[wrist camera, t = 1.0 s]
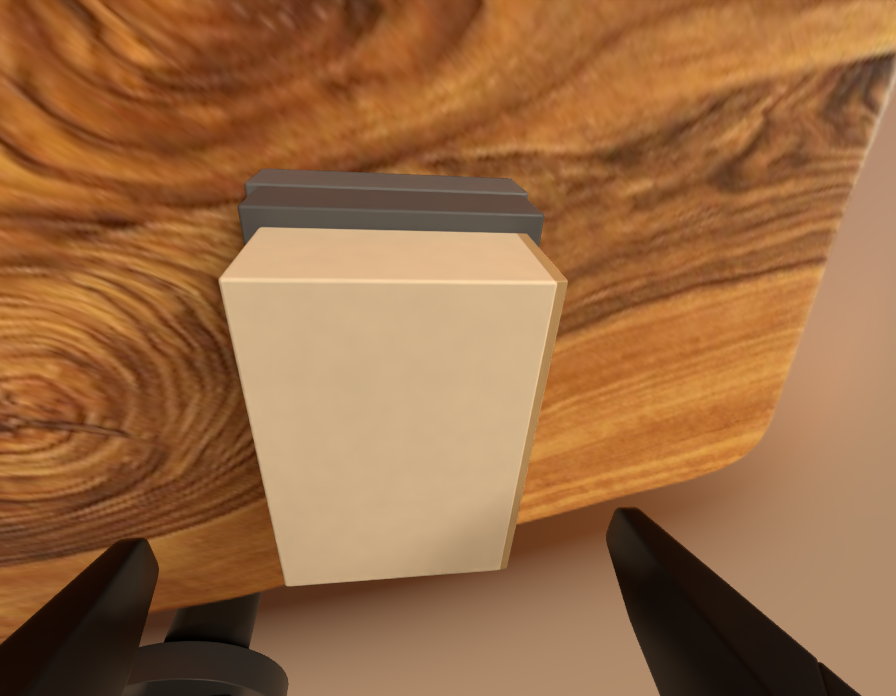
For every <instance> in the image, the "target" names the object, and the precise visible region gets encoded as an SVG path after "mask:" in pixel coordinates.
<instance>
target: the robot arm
mask: <svg viewBox="0 0 896 696" xmlns="http://www.w3.org/2000/svg"><path fill="white" fill-rule="evenodd" d="M606 541H607V546H608V549H609V553H610V556H611V559H612V563H613V566H614V569H615V572H616V576H617V579H618V583H619V586H620V589H621V593H622V596H623V600H624V602H625V606H626V610H627V613H628V616H629V619H630V622H631V624H632V627H633V629H634V632H635V634H636V637H637V640H638V642H639V645H640V647H641V649H642V652H643V654H644V657H645V659H646V662H647V664H648V667H649V669H650V672H651V674H652V677H653V679H654V682H655V684H656V686H657V689H658V691H659V694H660V696H861V695H860V694H859V693H857V692H856V691H855V690H854V689H853V688H851V687H850V686H849V685H848V684H846V683H845V682H844V681H843V680H842V679H841V678H839V677H838V676H837V675H836V674H835V673H833V672H832V671H831V670H830V669H829V668H828V667H826V666H825V665H824V664H823V663H821V662H818V661H817V659H816V658H815V657H814V656H813V655H812V654H811V653H809V652H808V651H807V650H806V649H805V648H804V647H802V646H801V645H800V644H799V643H798V642H796V641H795V640H794V639H793V638H792V637H791V636H789V635H788V634H787V633H786V632H785V631H783V630H782V629H781V628H780V627H779V626H778V625H776V624H775V623H774V622H773V621H772V620H770V619H769V618H768V617H767V616H766V615H764V614H763V613H762V612H761V611H760V610H758V609H757V608H756V607H755V606H754V605H752V604H751V603H750V602H749V601H748V600H747V599H745V598H744V597H743V596H742V595H741V594H740V593H738V592H737V591H736V590H735V589H733V588H732V587H731V586H730V585H729V584H728V583H727V582H725V581H724V580H723V579H722V578H720V577H719V576H718V575H717V574H716V573H715V572H713V571H712V570H711V569H710V568H709V567H708V566H706V565H705V564H704V563H703V562H701V561H700V560H699V559H698V558H697V557H696V556H694V555H693V554H692V553H691V552H690V551H688V550H687V549H686V548H685V547H684V546H683V545H681V544H680V543H679V542H678V541H677V540H675V539H674V538H673V537H672V536H671V535H670V534H668V533H667V532H666V531H665V530H664V529H662V528H661V527H660V526H659V525H658V524H657V523H655V522H654V521H653V520H652V519H651V518H649V517H648V516H647V515H646V514H645V513H643V512H642V511H641V510H640V509H638V508H636V507H619V508H617V509H616V510H615V511H614V513H613V516H612V519H611V521H610V524H609V527H608V529H607V534H606ZM158 574H159V566H158V562H157V560H156V558H155V556H154V553H153V551H152V549H151V547H150V545H149V542H148V541H147V540H146V539H145V538H127V539H121V540H119V541H117V542H115V543H114V544H113V545H112V546H111V547H110V548H108V549H107V550H106V551H105V552H104V553H103V554H102V555H101V556H99V557H98V558H97V559H96V560H95V561H94V562H93V563H92V564H90V565H89V566H88V567H87V568H86V569H85V570H84V571H83V572H81V573H80V574H79V575H78V576H77V577H76V578H75V579H74V580H72V581H71V582H70V583H69V584H68V585H67V586H66V587H65V588H63V589H62V590H61V591H60V592H59V593H58V594H57V595H56V596H54V597H53V598H52V599H51V600H50V601H49V602H48V603H47V604H45V605H44V606H43V607H42V608H41V609H40V610H39V611H38V612H36V613H35V614H34V615H33V616H32V617H31V618H30V619H29V620H27V621H26V622H25V623H24V624H23V625H22V626H21V627H20V628H18V629H17V630H16V631H15V632H14V633H13V634H12V635H11V636H9V637H8V638H7V639H6V640H5V641H4V642H3V643H2V644H1V645H0V696H122V694H123V692H124V689H125V687H126V684H127V681H128V679H129V676H130V673H131V670H132V667H133V664H134V661H135V657H136V654H137V651H138V647H139V644H140V640H141V636H142V633H143V629H144V625H145V622H146V618H147V615H148V611H149V608H150V604H151V601H152V597H153V593H154V590H155V586H156V583H157V579H158ZM211 696H231V695H228V694H220V695H211Z"/></svg>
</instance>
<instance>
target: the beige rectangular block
mask: <svg viewBox="0 0 896 696" xmlns="http://www.w3.org/2000/svg"><path fill="white" fill-rule="evenodd" d="M567 284H568V280H567V279H566V278H565V277H564V276H563V275H562V274H561V272H560V271H559V270H558V269H557V268H556V267H555V266H554V264H553V263H552V262H551V261H550V260H549V259H548V257H547V256H546V255H545V254H544V253H543V252H542V251H541V249H540V248H539V247H538V246H537V245H536V244H535V242H534V241H533V240H532V239H531V238H530V237H529V236H528V234H522V233H483V232H441V231H399V230H357V229H316V228H274V227H261V228H259V229H258V230H257V231H256V233H255V234H254V235H253V236H252V238H251V239H250V240H249V241H248V243H247V244H246V245H245V246H244V248H243V249H242V250H241V251H240V253H239V254H238V255H237V256H236V258H235V259H234V260H233V262H232V263H231V264H230V265H229V267H228V268H227V269H226V270H225V272H224V273H223V274H222V275H221V277H220V278H219V285H220V290H221V295H222V299H223V304H224V308H225V313H226V317H227V322H228V326H229V331H230V335H231V340H232V345H233V349H234V354H235V358H236V363H237V367H238V372H239V376H240V381H241V386H242V390H243V395H244V399H245V404H246V408H247V413H248V417H249V422H250V426H251V431H252V436H253V440H254V445H255V449H256V454H257V458H258V463H259V467H260V472H261V476H262V481H263V486H264V490H265V495H266V499H267V504H268V508H269V513H270V517H271V522H272V526H273V531H274V536H275V540H276V545H277V549H278V554H279V558H280V563H281V567H282V572H283V576H284V581H285V585H286V586H300V585H312V584H326V583H338V582H351V581H363V580H377V579H389V578H402V577H415V576H426V575H440V574H452V573H465V572H478V571H490V570H499V569H505V568H507V564H508V559H509V554H510V550H511V544H512V540H513V536H514V531H515V526H516V522H517V517H518V512H519V508H520V503H521V498H522V494H523V489H524V484H525V480H526V475H527V470H528V466H529V461H530V456H531V452H532V447H533V442H534V438H535V433H536V428H537V424H538V419H539V414H540V410H541V405H542V400H543V396H544V391H545V386H546V382H547V377H548V372H549V368H550V363H551V358H552V354H553V349H554V344H555V340H556V335H557V330H558V326H559V321H560V316H561V312H562V307H563V302H564V298H565V293H566V288H567Z"/></svg>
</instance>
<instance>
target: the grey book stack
mask: <svg viewBox="0 0 896 696" xmlns="http://www.w3.org/2000/svg"><path fill="white" fill-rule="evenodd" d="M245 191H246V197H247V198H246V199H244V200H243V201H242V202H241V203H240V204H239V205H238V213H239V218H240V224H241V229H242V235H243V240H244V246H245V245H246V244H247V243H248V241H249V240H250V239H251V238H252V236H253V235H254V234H255V233H256V231H257V230H258V229H259V228H261V227H274V228H316V229H357V230H399V231H441V232H483V233H522V234H528V236H529V237H530V238H531V239H532V240H533V241H534V242H535V244H536V245H537V246H538V247H539V244H540V238H541V233H542V227H543V221H544V214H543V213H542V212H541V211H539V210H538V209H537V208H536V207H535V206H534V205H533V204H532V203H531V202H530V201H528V200H527V199H528V193H527V192H526V191H525V190H523V189H522V188H521V187H520V186H519V185H518V184H516V183H515V182H514V181H513V180H512V179H508V178H484V177H459V176H434V175H410V174H385V173H360V172H336V171H311V170H286V169H262V170H260V171H259V172H258V173H257V174H255V175H254V176H253V177H252V178H250V179H249V180H248V181H247V182H245Z"/></svg>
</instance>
